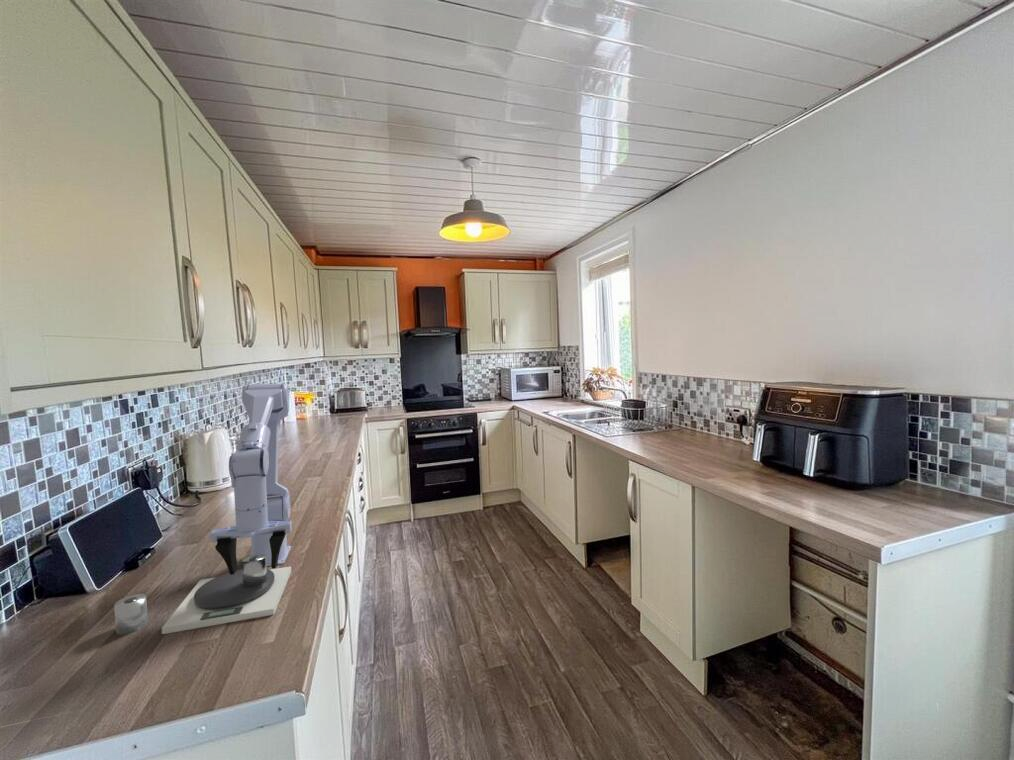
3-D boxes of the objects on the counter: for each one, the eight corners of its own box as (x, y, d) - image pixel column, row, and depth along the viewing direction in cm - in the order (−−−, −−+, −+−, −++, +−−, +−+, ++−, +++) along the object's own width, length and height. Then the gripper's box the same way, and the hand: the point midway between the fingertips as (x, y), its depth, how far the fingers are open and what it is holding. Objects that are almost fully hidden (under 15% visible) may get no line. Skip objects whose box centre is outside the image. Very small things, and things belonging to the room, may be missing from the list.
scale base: (200, 584, 91) (200, 577, 90) (291, 571, 96) (291, 564, 96) (162, 634, 74) (161, 625, 74) (273, 614, 80) (273, 606, 80)
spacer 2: (245, 578, 88) (244, 555, 88) (268, 574, 90) (267, 552, 90) (240, 589, 84) (239, 565, 84) (264, 585, 86) (263, 561, 85)
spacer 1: (124, 621, 78) (122, 595, 78) (152, 617, 79) (151, 591, 79) (110, 636, 74) (108, 609, 74) (140, 631, 75) (138, 604, 75)
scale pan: (210, 577, 91) (209, 573, 91) (281, 566, 95) (280, 563, 95) (181, 615, 77) (180, 610, 77) (265, 601, 81) (265, 597, 81)
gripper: (203, 517, 80) (206, 585, 81) (285, 508, 84) (288, 572, 85) (216, 505, 87) (219, 567, 88) (292, 497, 91) (295, 557, 92)
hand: (254, 569), depth 87 cm, fingers open, 7 cm apart
